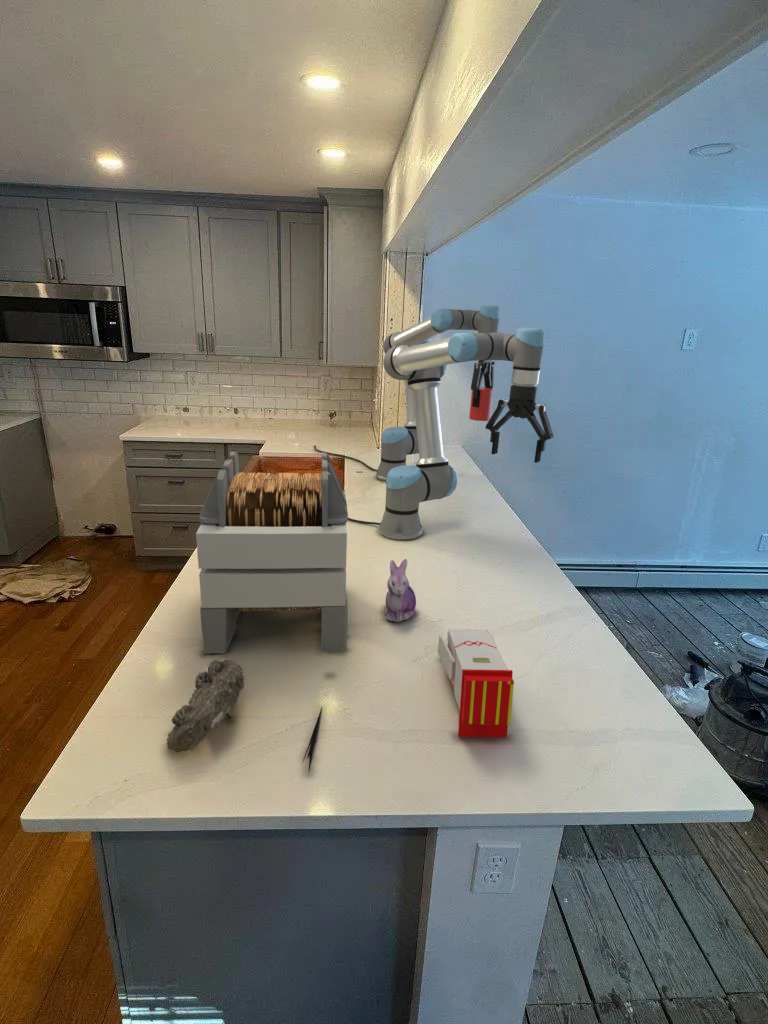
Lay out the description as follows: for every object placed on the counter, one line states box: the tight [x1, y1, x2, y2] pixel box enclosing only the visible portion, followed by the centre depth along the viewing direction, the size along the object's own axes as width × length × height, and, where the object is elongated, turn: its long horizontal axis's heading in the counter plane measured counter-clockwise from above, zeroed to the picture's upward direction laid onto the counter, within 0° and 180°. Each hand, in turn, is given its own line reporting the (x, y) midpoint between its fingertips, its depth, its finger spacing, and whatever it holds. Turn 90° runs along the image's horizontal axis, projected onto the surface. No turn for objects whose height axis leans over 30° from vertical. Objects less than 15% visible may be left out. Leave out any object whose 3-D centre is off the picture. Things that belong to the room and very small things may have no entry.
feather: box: [301, 673, 332, 771], centre depth 108 cm, size 2×28×2 cm
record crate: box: [195, 450, 349, 655], centre depth 137 cm, size 34×33×41 cm
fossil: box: [166, 658, 245, 754], centre depth 106 cm, size 22×10×15 cm
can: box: [468, 386, 494, 422], centre depth 229 cm, size 8×8×12 cm
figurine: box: [384, 558, 417, 623], centre depth 145 cm, size 9×10×15 cm
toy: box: [437, 628, 515, 738], centre depth 117 cm, size 12×13×30 cm
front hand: (515, 457), depth 168 cm, fingers open, 13 cm apart
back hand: (480, 405), depth 230 cm, fingers closed on can, 8 cm apart
